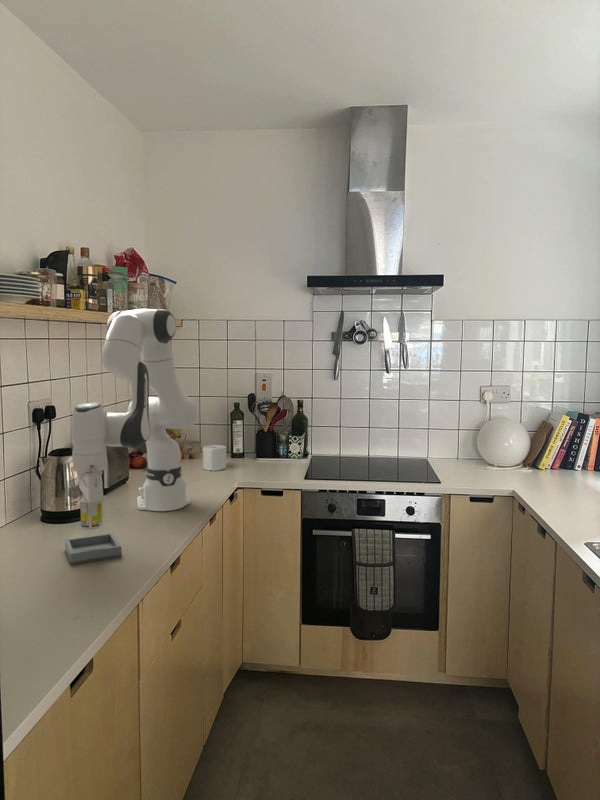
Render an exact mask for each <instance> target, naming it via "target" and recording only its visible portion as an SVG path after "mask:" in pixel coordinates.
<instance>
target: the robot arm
mask: <svg viewBox="0 0 600 800" xmlns="http://www.w3.org/2000/svg"><path fill="white" fill-rule="evenodd" d="M106 328H107V332H106V333H107V334H106V336H105V340H104V344H103V348H102V353H101V361H102V364H103V366H104V368H105V369H106V371H108V372H109V373H110V374H112V375H114V376H115V377H117V378H119V379H121V380H123V381H126V382H128V383H130V385H131V402H130V403H129V405H128V407H127V412H109V411H108V412H107V411H106V410H104V407H103V405H102V403H99V402H92V401H91V402H86V403H79V404H78V405H76V406H74V408H73V411H72V417H71V440H72V442H73V447H72V451H71V452H72V453H71V454H72V471H73V472H76V476H77V483H78V487H79V490H80V491H81V493H82V494H83V491H84V495H85V498H86V499H87V501H88V502H89V505H90V509H89V513H90V516H96V515H97V507H98V504H99V503H103V502H104V489H103V487H104V485H103V484H104V483H103V477H102V475H103V471H104V470H106V469H108V468H107V467H108V464H107V463H108V461H107V459H108V458H107V456H108V455H107V454H108V453H107V447H121V448H122V447H123V448H129V449H139V448H141V447H142V446H143V445H144V444H145V446H146V455H147V467H146V471H145V473H146V475H145V477H146V479H145V481H144V483H143V484H142V487H138V494H139V495H138V496H137V498H136V501H137V503H136V504H137V510H140V511H150V512H151V511H152V512H171V511H175V510H179V509H182V508H184V507H186V506H187V505H191V503H192V500H190V499H188V498H187V485H186V480H184V479H183V478H182V471H183V470H182V466H181V462H180V461H181V460H180V459H181V458H180V457H181V456H180V455H181V454H180V453H181V452H180V446H179V443H178V442H177V441H176V440H175V439H173V438H172V437H170V436H169V434H168V432H167V430H166V429H170V430H171V429H173V430H174V429H175V430H179V429H180V430H181V429H189V428H192V427H193V426H194V425H195V424H196V423H197V420H198V418H199V410H198V409H199V408H198V406H197V404H196V402H195V401H194V400H192V399H191V398H190V397H189V396H187V394H186V393H185V392H184V391H183V390H182V388H181V386H180V384H179V382H178V380H177V375H176V370H175V363H174V353H173V348H172V347H173V346H172V342H171V340H172V339H173V337H174V336H175V335H176V330H177V329H176V328H177V323H176V319H175V315H174V314H172V313H171V311H169V310H168V309H162V308H159V309H158V308H157V309H155V308H139V309H130V310H118V311H114V312H113V313H111V315H110V316H109V318H108V320H107V324H106ZM150 389H152V390H153V391H154V392H155V394H156V396H150Z"/></svg>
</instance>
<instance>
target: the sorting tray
mask: <svg viewBox="0 0 600 800" xmlns="http://www.w3.org/2000/svg"><path fill="white" fill-rule="evenodd" d="M64 547H65V553H66V555H67V558H68V561H69V564H70V565H71V566H73V565H81V564H87V563H92V562H93V563H94V562H99V561H106V560H112V559H118V558H122V555H123V554H122V545H121V543H120V542H119V541H118V539H117V538H116V535H115V534H114V533H113V532H110V533H102V534H95V535H89V536H88V535H87V536H80V537H74V538H68V539H67V538H66V539H64Z"/></svg>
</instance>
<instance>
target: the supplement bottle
mask: <svg viewBox="0 0 600 800" xmlns="http://www.w3.org/2000/svg"><path fill="white" fill-rule="evenodd" d="M79 502H80V504H79V507H80V508H79V509H80V525H81V529H83V530H88V531H89V530H96V529H100V528H101V527H102V526H103V509H102V508H103V504H102V503H103V502H102V503H99V504H98V507H97V515H96V516H90V513H89V509H90V505H89V502H88V501H87V499H86V498H85V495H84V491H83V493H82V497H81V498H80V500H79Z"/></svg>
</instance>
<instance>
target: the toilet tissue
mask: <svg viewBox="0 0 600 800" xmlns="http://www.w3.org/2000/svg"><path fill="white" fill-rule="evenodd" d="M225 468H226V469H227V446H226V445H222V444H211V445H204V446H202V469H203V470H204V469H205V470H204V471H210V470H212V471H211V472H216V471H223V470H226V469H225ZM222 469H223V470H222Z"/></svg>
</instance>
